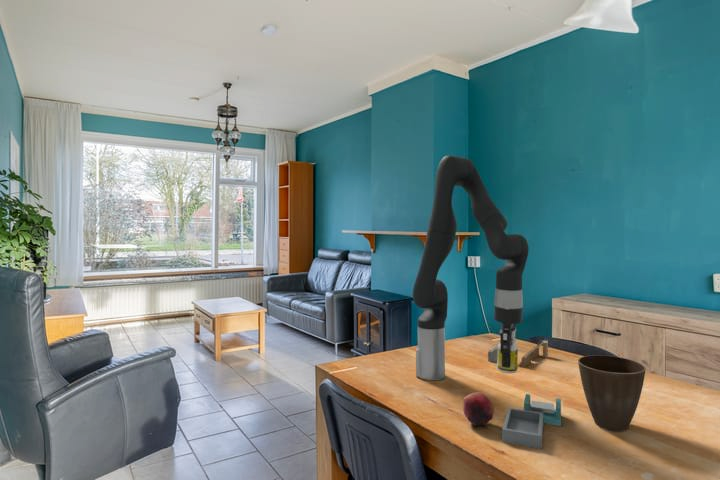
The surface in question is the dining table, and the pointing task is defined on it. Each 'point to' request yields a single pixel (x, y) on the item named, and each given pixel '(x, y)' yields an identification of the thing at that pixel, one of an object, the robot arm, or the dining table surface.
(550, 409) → the plate
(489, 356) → the skate ramp
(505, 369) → the supplement bottle
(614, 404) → the plant pot
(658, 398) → the dining table surface
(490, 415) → the fruit
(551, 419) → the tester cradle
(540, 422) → the trough
